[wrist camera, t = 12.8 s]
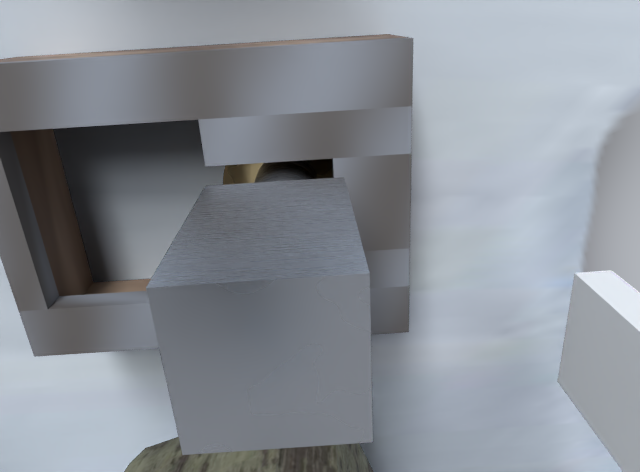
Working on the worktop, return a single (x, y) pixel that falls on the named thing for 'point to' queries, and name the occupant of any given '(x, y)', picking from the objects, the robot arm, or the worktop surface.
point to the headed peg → (267, 313)
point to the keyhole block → (218, 149)
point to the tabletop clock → (252, 459)
